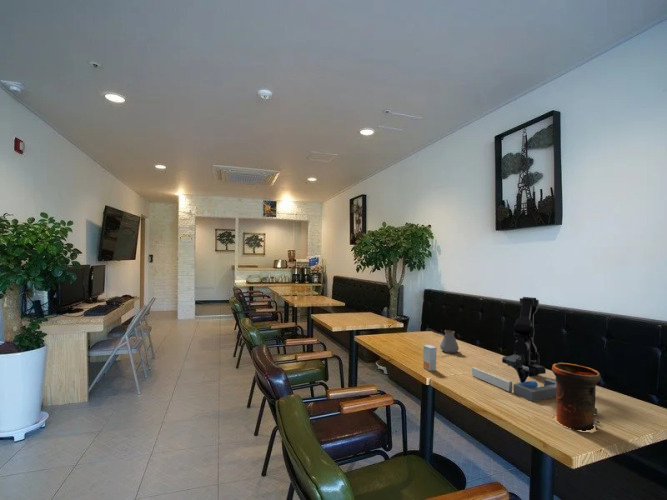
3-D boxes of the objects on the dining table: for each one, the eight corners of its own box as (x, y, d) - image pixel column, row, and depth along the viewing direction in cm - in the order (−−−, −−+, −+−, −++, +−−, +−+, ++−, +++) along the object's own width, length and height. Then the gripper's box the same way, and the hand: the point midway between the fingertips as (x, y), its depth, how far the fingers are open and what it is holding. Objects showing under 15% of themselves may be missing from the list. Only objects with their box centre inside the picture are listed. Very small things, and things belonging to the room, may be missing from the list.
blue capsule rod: (531, 386, 160) (531, 379, 160) (537, 388, 157) (537, 381, 157) (512, 389, 155) (512, 382, 155) (517, 391, 152) (518, 384, 152)
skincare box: (422, 367, 182) (423, 345, 183) (429, 366, 184) (429, 344, 184) (429, 371, 177) (430, 348, 177) (436, 370, 178) (436, 347, 178)
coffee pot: (453, 348, 223) (453, 326, 223) (462, 353, 211) (462, 329, 212) (422, 349, 220) (422, 326, 220) (429, 354, 208) (430, 329, 209)
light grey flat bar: (512, 392, 150) (512, 382, 150) (510, 392, 150) (510, 382, 150) (473, 375, 172) (473, 366, 172) (471, 375, 171) (471, 366, 171)
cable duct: (548, 387, 158) (548, 378, 158) (568, 394, 150) (568, 385, 150) (513, 393, 150) (513, 384, 150) (532, 401, 141) (532, 391, 141)
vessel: (563, 411, 133) (565, 360, 133) (606, 428, 120) (608, 372, 120) (541, 418, 126) (543, 364, 126) (585, 438, 113) (587, 378, 113)
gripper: (493, 345, 164) (493, 378, 164) (528, 356, 147) (528, 392, 146) (510, 344, 168) (510, 376, 168) (546, 354, 151) (546, 390, 151)
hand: (522, 383), depth 158 cm, fingers closed
